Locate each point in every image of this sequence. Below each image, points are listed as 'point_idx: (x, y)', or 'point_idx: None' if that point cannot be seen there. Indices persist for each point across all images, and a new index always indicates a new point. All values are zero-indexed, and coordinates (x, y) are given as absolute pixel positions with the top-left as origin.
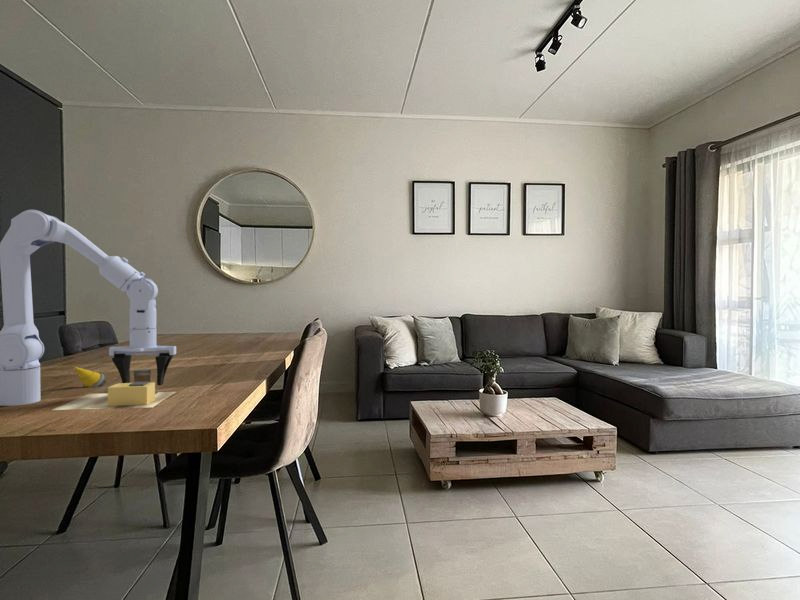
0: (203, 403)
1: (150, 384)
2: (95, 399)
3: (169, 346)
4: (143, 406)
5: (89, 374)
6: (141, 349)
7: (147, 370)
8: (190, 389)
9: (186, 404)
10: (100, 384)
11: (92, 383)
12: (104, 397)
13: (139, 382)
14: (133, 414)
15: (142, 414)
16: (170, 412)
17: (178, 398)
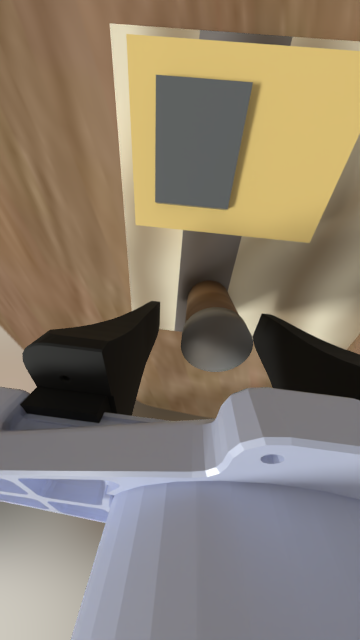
0: (22, 215)
1: (134, 150)
2: (340, 273)
3: (16, 497)
4: None
5: None
6: (237, 427)
7: (192, 342)
8: None
9: (66, 211)
10: None
11: None
12: (310, 297)
13: (198, 173)
14: (192, 27)
15: (153, 15)
16: (51, 45)
17: (123, 299)
